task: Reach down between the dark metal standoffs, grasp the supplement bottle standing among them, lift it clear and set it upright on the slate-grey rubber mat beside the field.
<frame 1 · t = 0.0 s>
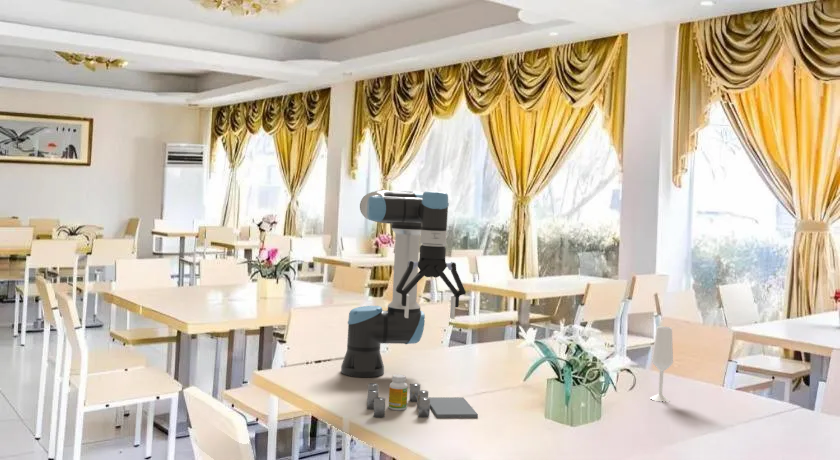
hand: (429, 318, 218), 28 cm above the table, fingers open, 13 cm apart
slate mat: (450, 408, 225), on the table
spacer field: (397, 408, 223), on the table
supplement bottle: (397, 408, 223), on the table
champagne flute: (659, 400, 248), on the table
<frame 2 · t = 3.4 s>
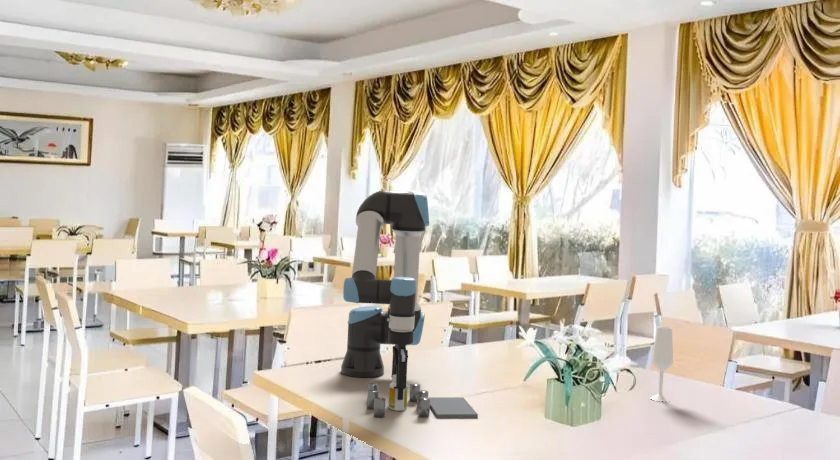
hand: (397, 406, 223), 0 cm above the table, fingers closed on supplement bottle, 5 cm apart
supplement bottle: (397, 408, 223), on the table, touching gripper
everything else where it was.
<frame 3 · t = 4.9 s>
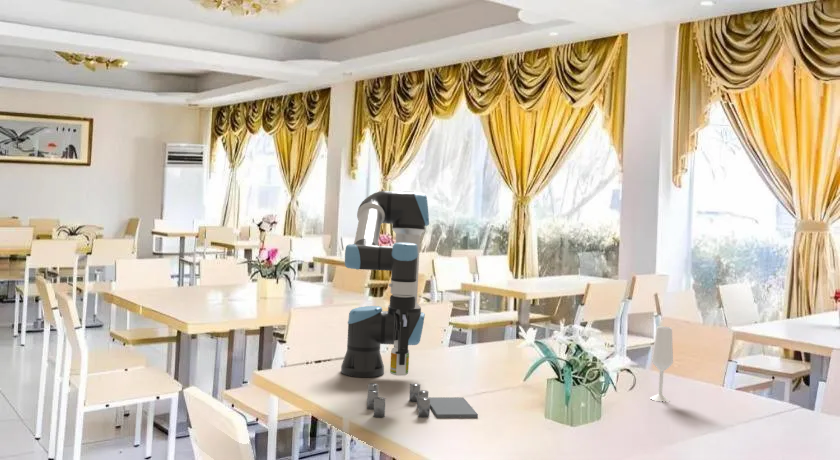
hand: (399, 372, 223), 11 cm above the table, fingers closed on supplement bottle, 5 cm apart
supplement bottle: (399, 374, 223), point 10 cm above the table, touching gripper
everything else where it was.
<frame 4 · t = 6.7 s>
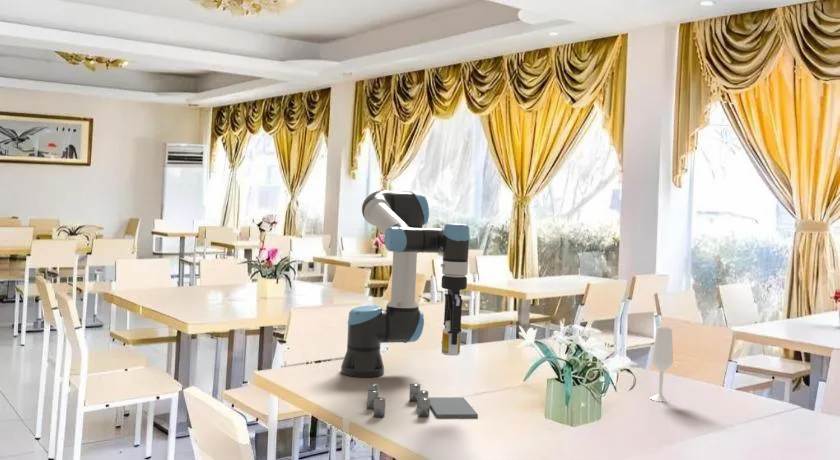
hand: (450, 352, 224), 17 cm above the table, fingers closed on supplement bottle, 5 cm apart
supplement bottle: (450, 354, 224), point 16 cm above the table, touching gripper
everything else where it was.
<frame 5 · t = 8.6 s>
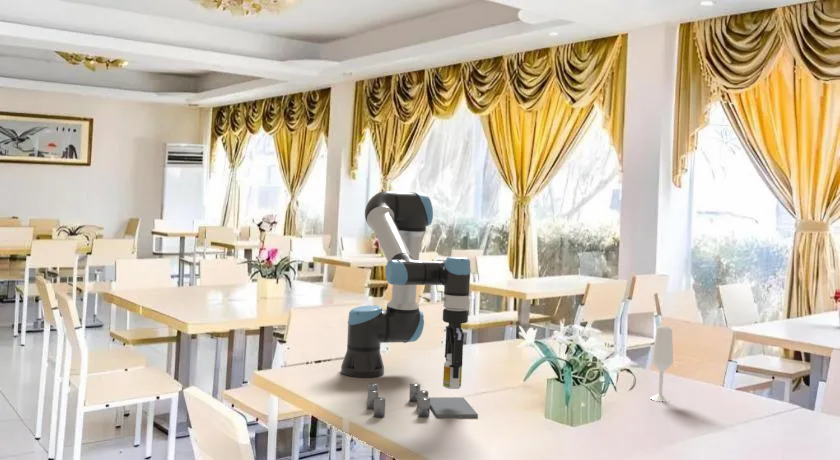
hand: (452, 385, 224), 7 cm above the table, fingers closed on supplement bottle, 5 cm apart
supplement bottle: (451, 387, 224), point 6 cm above the table, touching gripper
everything else where it was.
when the fingers open (2 cm above the table, at t = 10.2 s): supplement bottle stays where it is, resting on slate mat.
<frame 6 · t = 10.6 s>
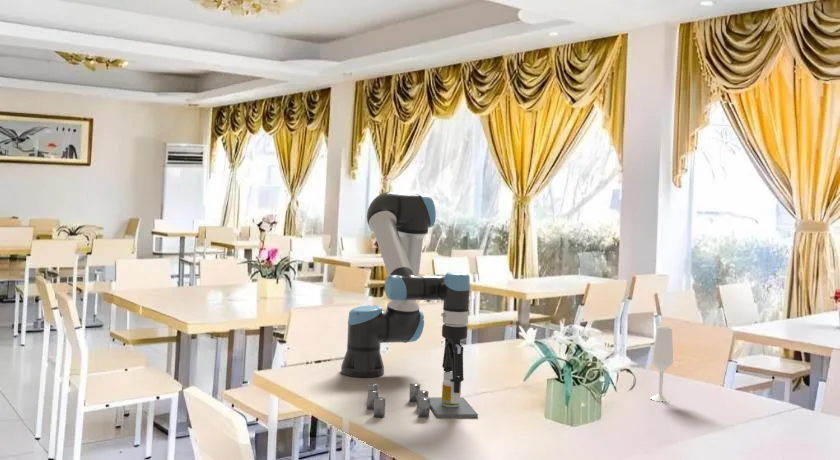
hand: (451, 398, 225), 3 cm above the table, fingers open, 10 cm apart
supplement bottle: (450, 406, 225), point 1 cm above the table, touching slate mat
everything else where it was.
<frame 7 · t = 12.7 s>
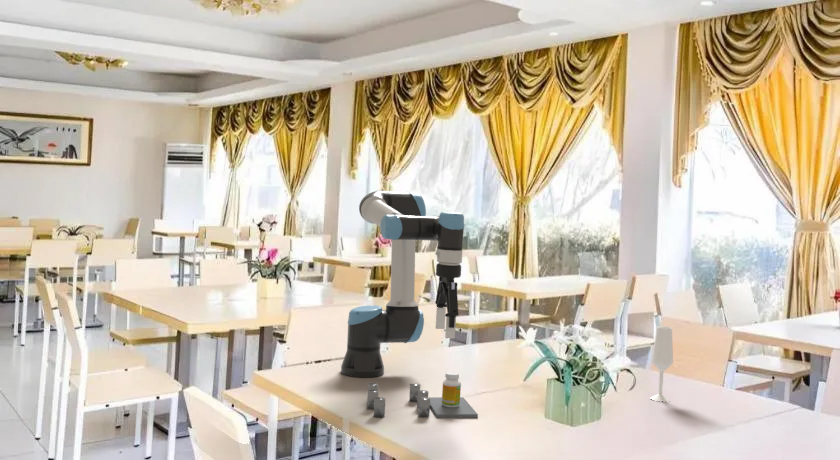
hand: (444, 333, 227), 22 cm above the table, fingers open, 13 cm apart
nothing on the table moved.
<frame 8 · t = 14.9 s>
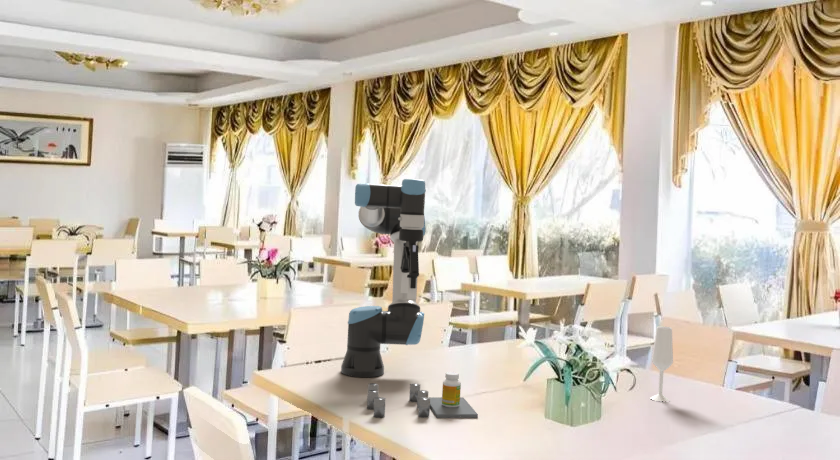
hand: (408, 295, 236), 32 cm above the table, fingers open, 13 cm apart
nothing on the table moved.
at the end: supplement bottle inside the target area on the slate mat (0.1 cm from its centre), point 0.8 cm above the slate mat's base; supplement bottle tilted 0°; the gripper is holding nothing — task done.
